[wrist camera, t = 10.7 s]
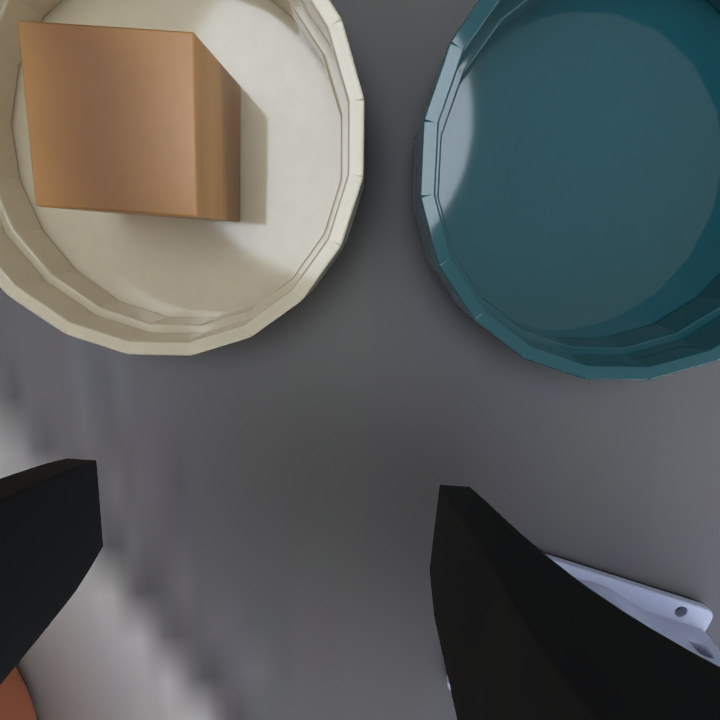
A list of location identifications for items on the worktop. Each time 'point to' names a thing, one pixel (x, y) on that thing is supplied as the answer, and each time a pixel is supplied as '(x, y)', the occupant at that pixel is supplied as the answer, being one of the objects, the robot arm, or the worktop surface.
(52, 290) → the cream bowl
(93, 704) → the worktop surface
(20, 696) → the potted cactus
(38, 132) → the block
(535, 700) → the robot arm
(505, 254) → the teal bowl
